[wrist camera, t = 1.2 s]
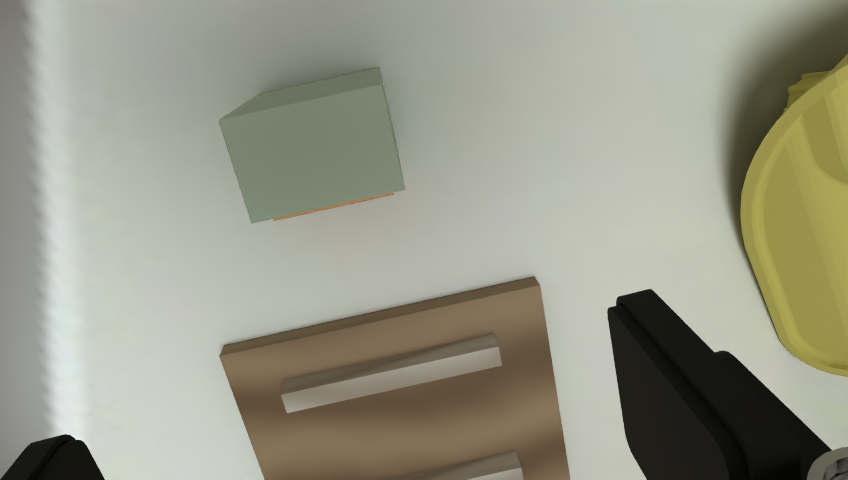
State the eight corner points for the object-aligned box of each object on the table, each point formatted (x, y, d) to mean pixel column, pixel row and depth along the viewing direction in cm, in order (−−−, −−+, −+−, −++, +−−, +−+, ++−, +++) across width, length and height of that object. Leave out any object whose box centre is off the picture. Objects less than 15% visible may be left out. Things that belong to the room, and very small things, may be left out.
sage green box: (261, 93, 31) (218, 120, 22) (379, 67, 31) (381, 84, 22) (286, 179, 32) (255, 235, 24) (398, 154, 32) (407, 201, 24)
